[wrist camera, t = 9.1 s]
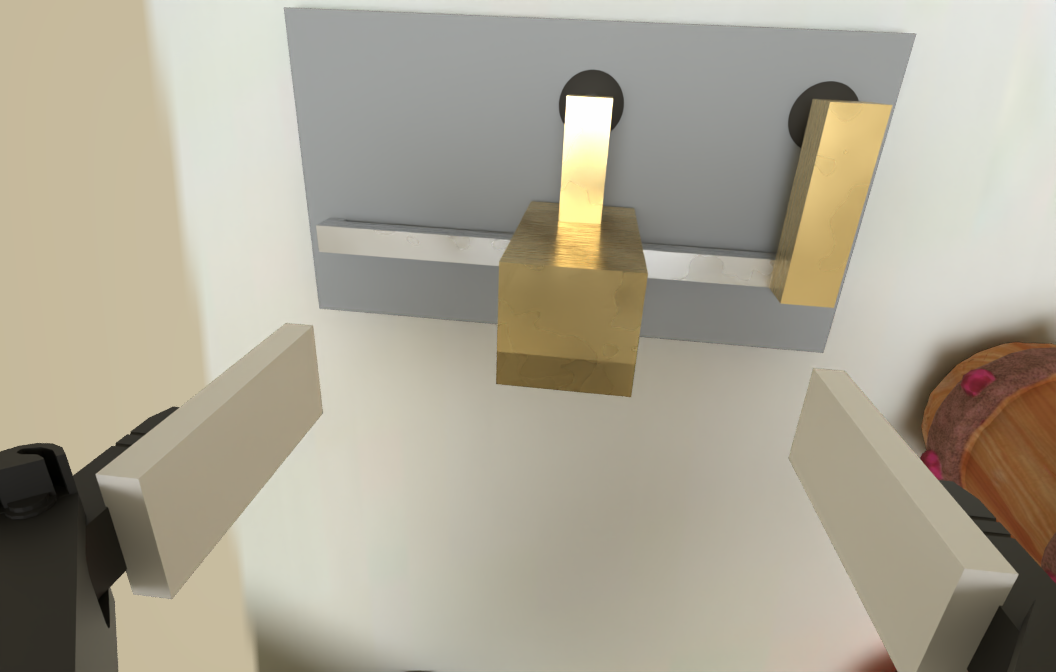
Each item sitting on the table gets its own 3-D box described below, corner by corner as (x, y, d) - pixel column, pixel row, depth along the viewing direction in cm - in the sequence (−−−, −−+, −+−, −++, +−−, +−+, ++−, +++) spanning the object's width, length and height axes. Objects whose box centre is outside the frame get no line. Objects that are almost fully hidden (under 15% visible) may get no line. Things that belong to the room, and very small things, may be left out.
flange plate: (329, 299, 30) (318, 309, 29) (298, 9, 24) (282, 7, 23) (814, 341, 28) (823, 353, 27) (900, 34, 22) (917, 33, 21)
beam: (332, 243, 27) (300, 264, 24) (314, 71, 24) (275, 72, 21) (819, 280, 25) (847, 308, 22) (869, 100, 22) (908, 105, 19)
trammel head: (526, 292, 27) (496, 383, 19) (536, 89, 23) (502, 103, 16) (623, 300, 26) (630, 397, 19) (647, 96, 23) (670, 112, 15)
